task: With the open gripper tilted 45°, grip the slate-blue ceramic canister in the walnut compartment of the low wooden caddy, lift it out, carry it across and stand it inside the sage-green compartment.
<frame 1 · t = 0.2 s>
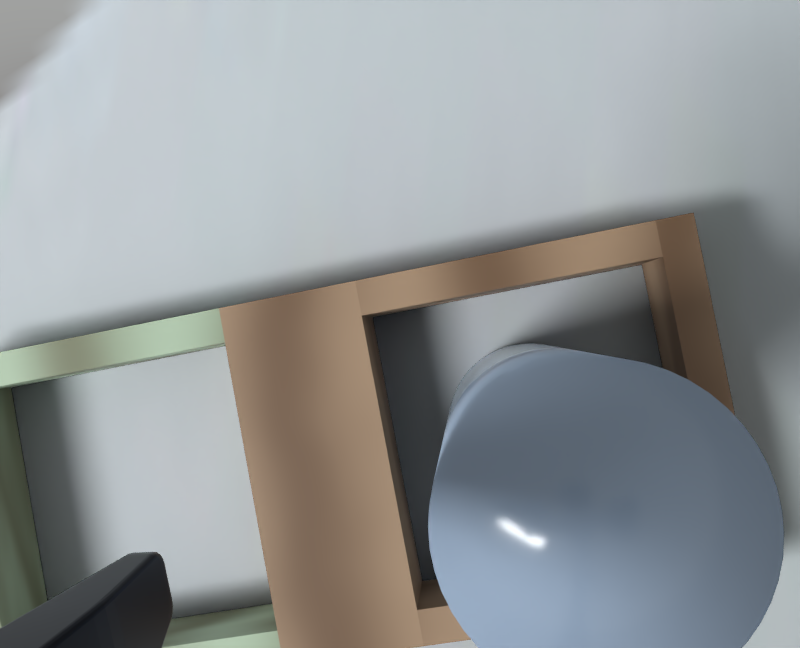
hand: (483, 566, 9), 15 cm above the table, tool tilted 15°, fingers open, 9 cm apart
caddy: (334, 459, 24), on the table
canister: (530, 425, 24), resting in caddy
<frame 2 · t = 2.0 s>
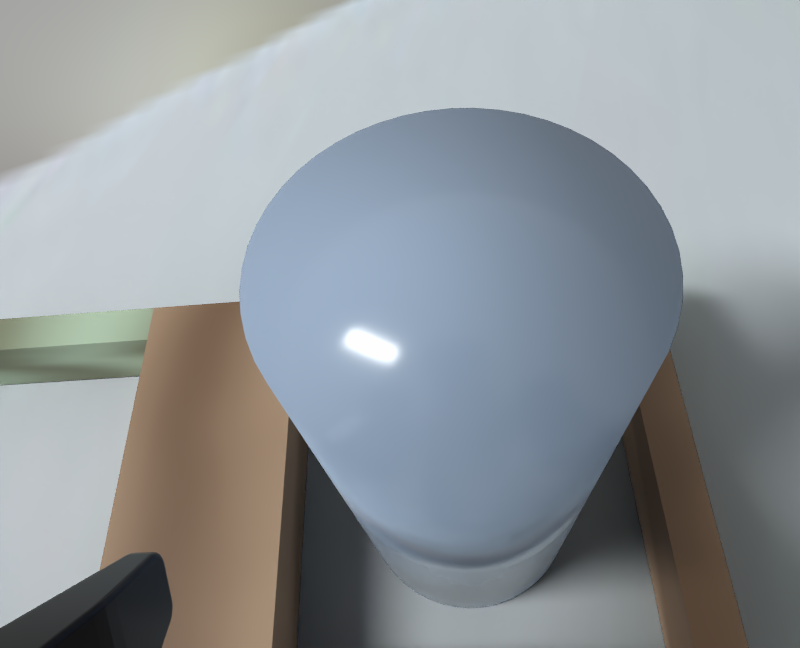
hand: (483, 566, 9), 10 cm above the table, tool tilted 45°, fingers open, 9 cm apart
caddy: (228, 512, 20), on the table
canister: (465, 501, 20), resting in caddy
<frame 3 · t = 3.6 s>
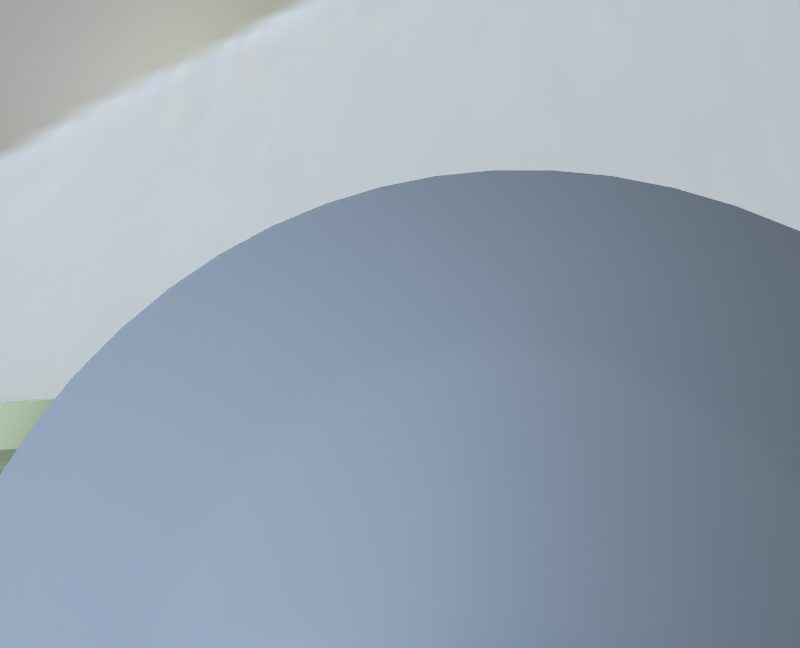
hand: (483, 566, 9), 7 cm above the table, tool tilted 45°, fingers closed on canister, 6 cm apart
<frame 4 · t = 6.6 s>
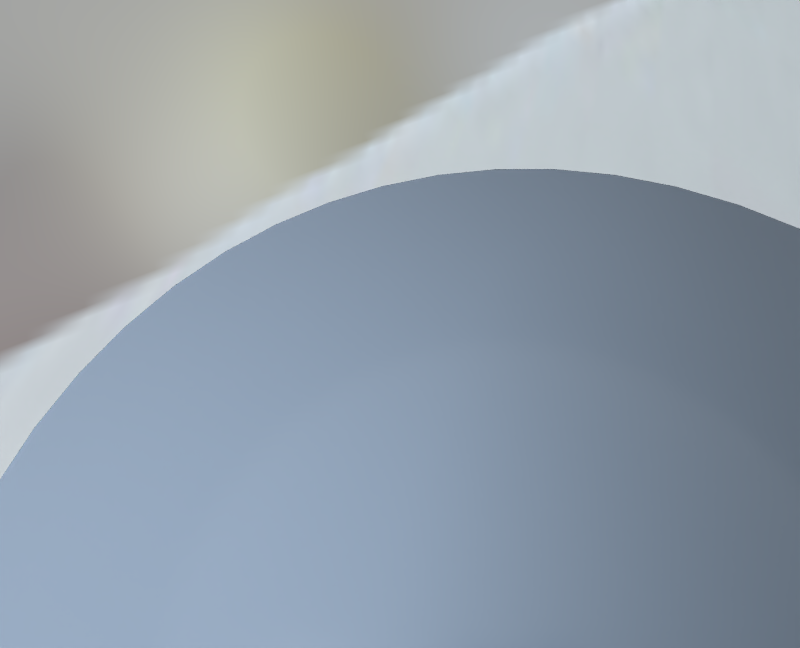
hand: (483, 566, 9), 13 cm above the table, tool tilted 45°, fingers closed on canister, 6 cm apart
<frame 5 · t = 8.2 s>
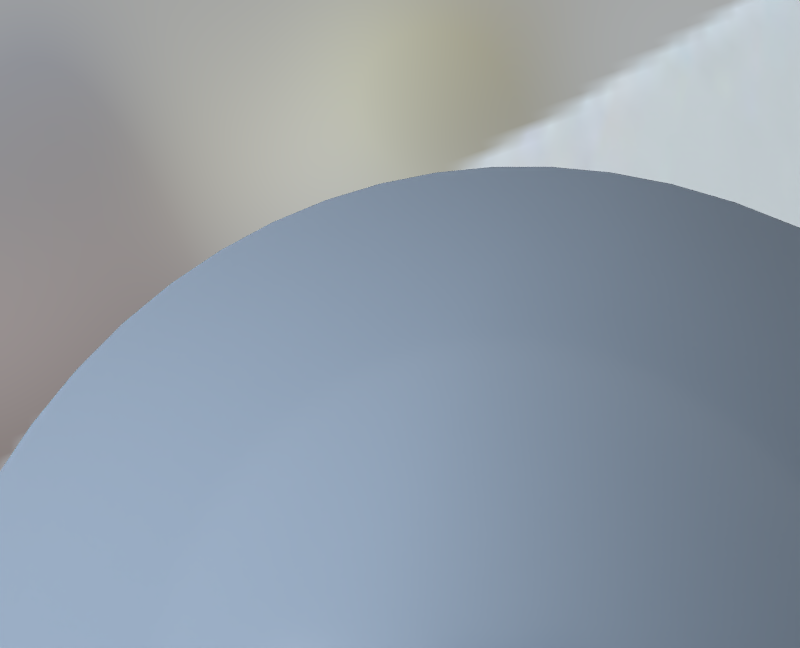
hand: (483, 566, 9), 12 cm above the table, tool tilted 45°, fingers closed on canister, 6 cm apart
when the fingers open (8 cm above the table, at t = 9.4 s): canister drops 1 cm, resting in caddy.
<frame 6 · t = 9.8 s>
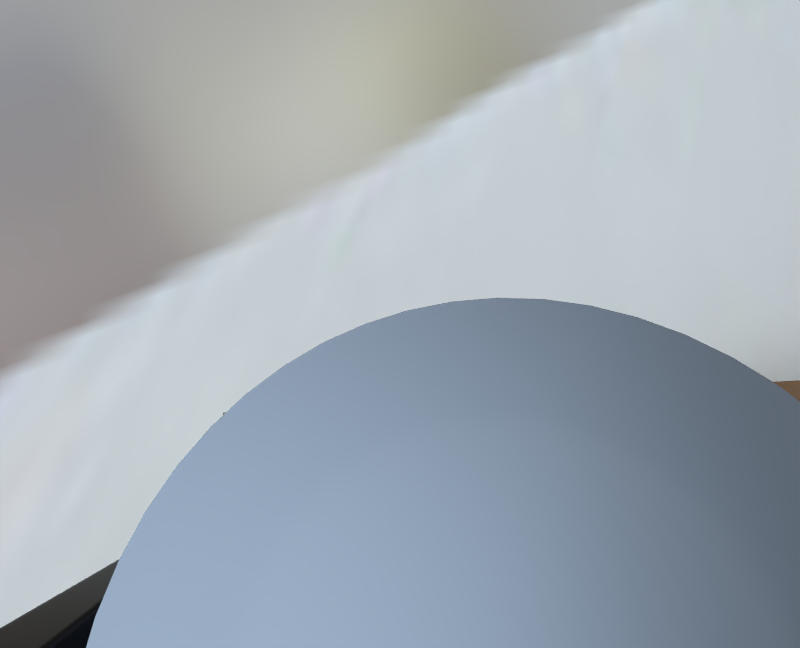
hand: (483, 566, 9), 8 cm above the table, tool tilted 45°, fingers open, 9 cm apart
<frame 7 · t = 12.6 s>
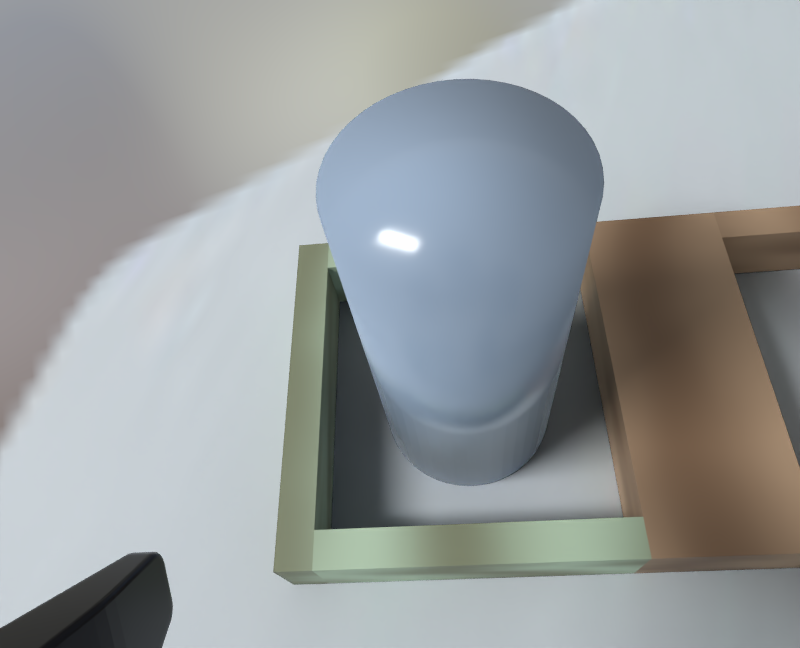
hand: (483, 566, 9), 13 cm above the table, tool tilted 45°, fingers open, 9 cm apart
caddy: (668, 392, 24), on the table
canister: (466, 407, 24), resting in caddy
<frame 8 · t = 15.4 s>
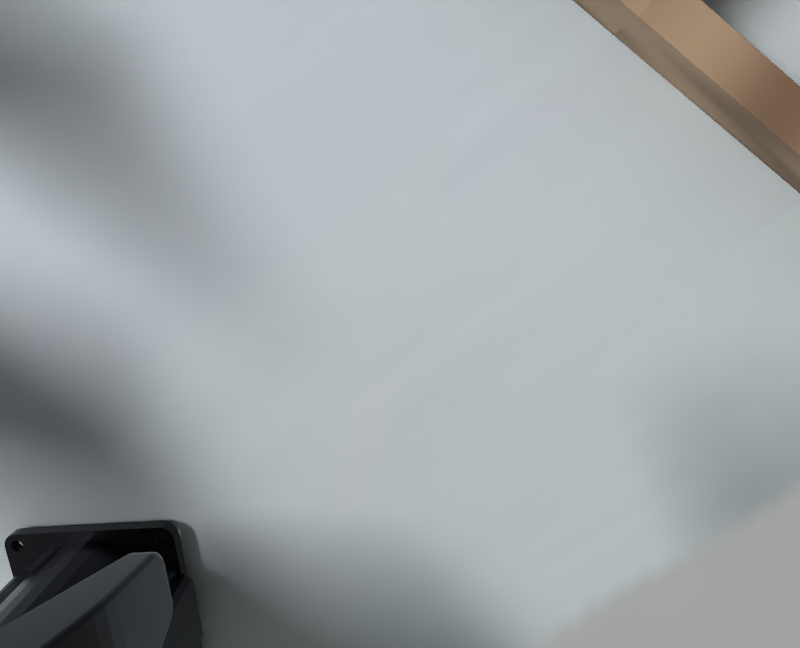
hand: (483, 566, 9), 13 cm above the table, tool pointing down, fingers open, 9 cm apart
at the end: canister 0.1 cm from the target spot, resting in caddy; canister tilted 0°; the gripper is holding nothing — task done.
